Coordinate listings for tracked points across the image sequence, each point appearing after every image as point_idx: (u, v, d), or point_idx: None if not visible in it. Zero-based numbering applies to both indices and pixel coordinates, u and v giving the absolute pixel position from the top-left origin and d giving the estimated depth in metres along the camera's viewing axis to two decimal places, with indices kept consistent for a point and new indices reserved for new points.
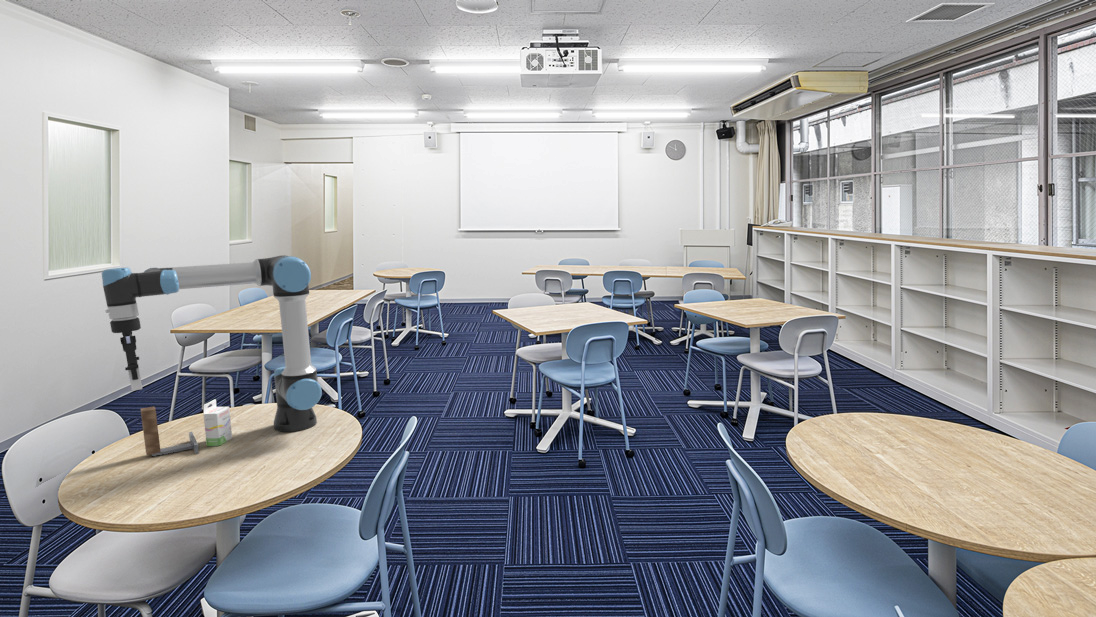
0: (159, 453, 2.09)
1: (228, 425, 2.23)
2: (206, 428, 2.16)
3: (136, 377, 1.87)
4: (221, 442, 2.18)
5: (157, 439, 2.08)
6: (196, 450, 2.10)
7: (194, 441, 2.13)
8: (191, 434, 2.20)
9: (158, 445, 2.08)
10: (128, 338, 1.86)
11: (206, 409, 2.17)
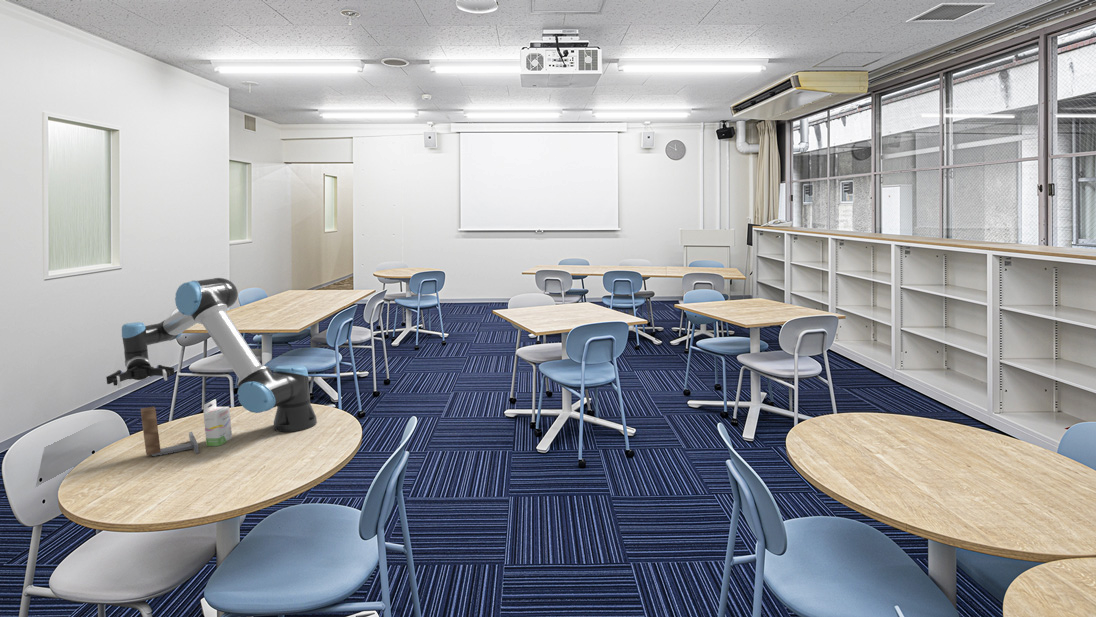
0: (159, 453, 2.09)
1: (228, 425, 2.23)
2: (206, 428, 2.16)
3: (113, 380, 2.14)
4: (221, 442, 2.18)
5: (157, 439, 2.08)
6: (196, 450, 2.10)
7: (194, 441, 2.13)
8: (191, 434, 2.20)
9: (158, 445, 2.08)
10: None
11: (206, 409, 2.17)
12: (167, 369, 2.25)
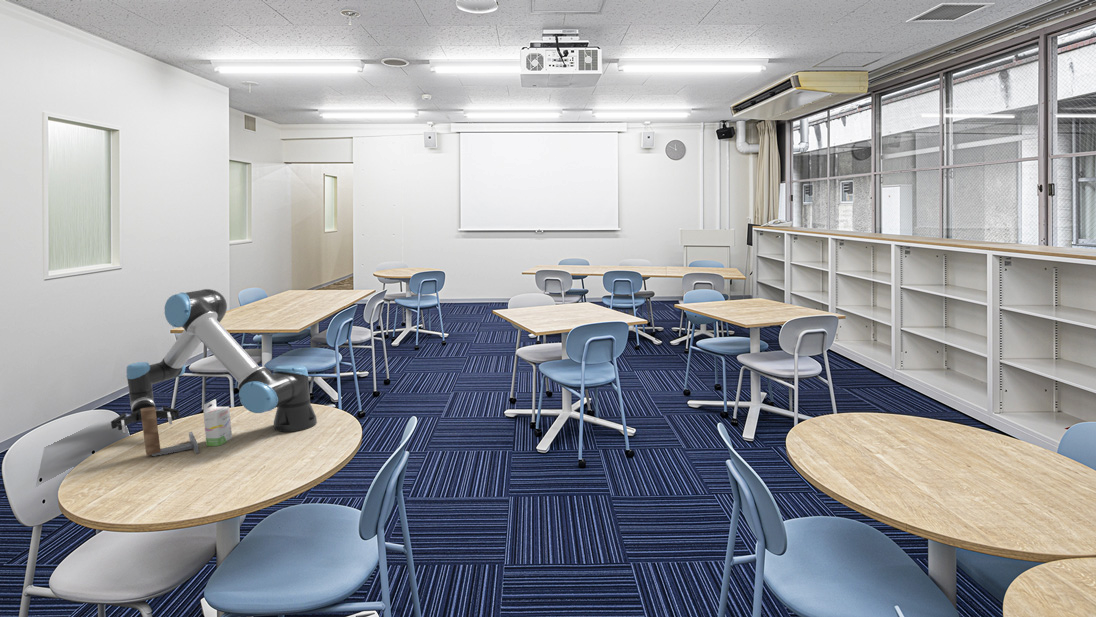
0: (159, 453, 2.09)
1: (228, 425, 2.23)
2: (206, 428, 2.16)
3: (117, 425, 2.12)
4: (221, 442, 2.18)
5: (157, 439, 2.08)
6: (196, 450, 2.10)
7: (194, 441, 2.13)
8: (191, 434, 2.20)
9: (158, 445, 2.08)
10: None
11: (206, 409, 2.17)
12: (172, 412, 2.24)
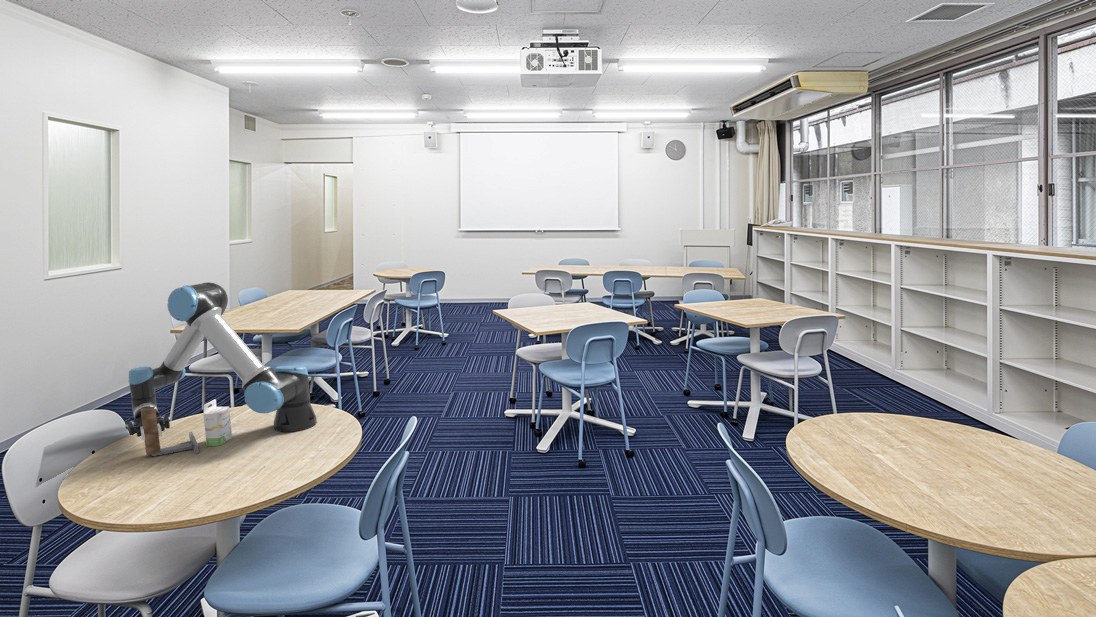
0: (159, 453, 2.09)
1: (228, 425, 2.23)
2: (206, 428, 2.16)
3: (136, 432, 2.05)
4: (221, 442, 2.18)
5: (157, 439, 2.08)
6: (196, 450, 2.10)
7: (194, 441, 2.13)
8: (191, 434, 2.20)
9: (158, 445, 2.08)
10: (125, 425, 2.13)
11: (206, 409, 2.17)
12: (161, 423, 2.11)
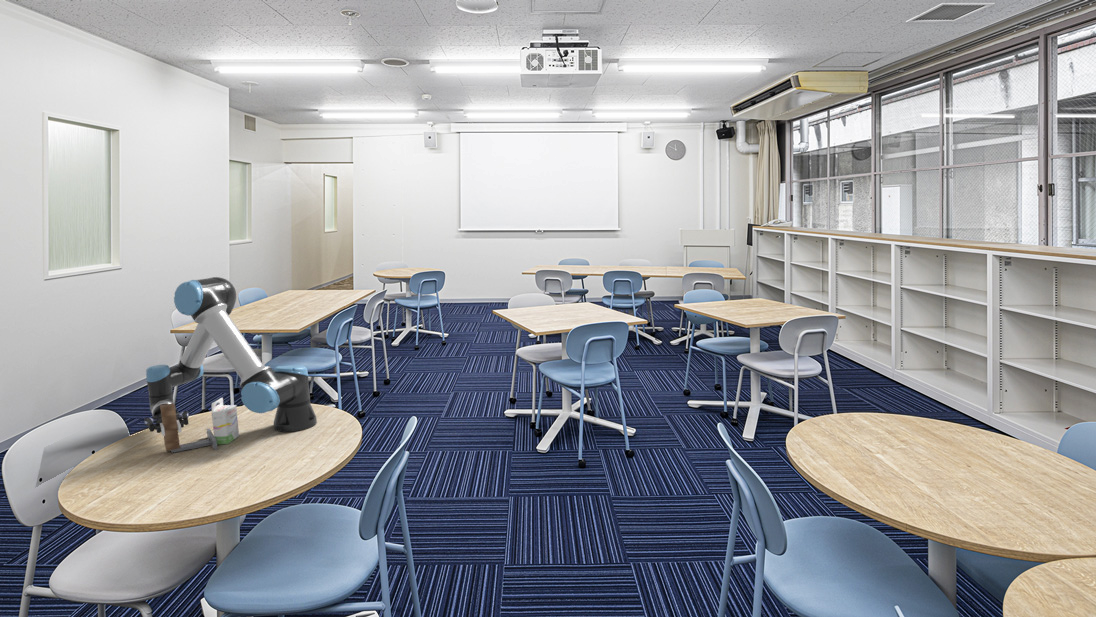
0: (178, 449, 2.12)
1: (235, 423, 2.24)
2: (214, 426, 2.17)
3: (156, 428, 2.08)
4: (229, 441, 2.20)
5: (176, 435, 2.11)
6: (215, 446, 2.13)
7: (212, 437, 2.16)
8: (209, 431, 2.23)
9: (177, 441, 2.12)
10: None
11: (214, 407, 2.18)
12: (180, 419, 2.14)
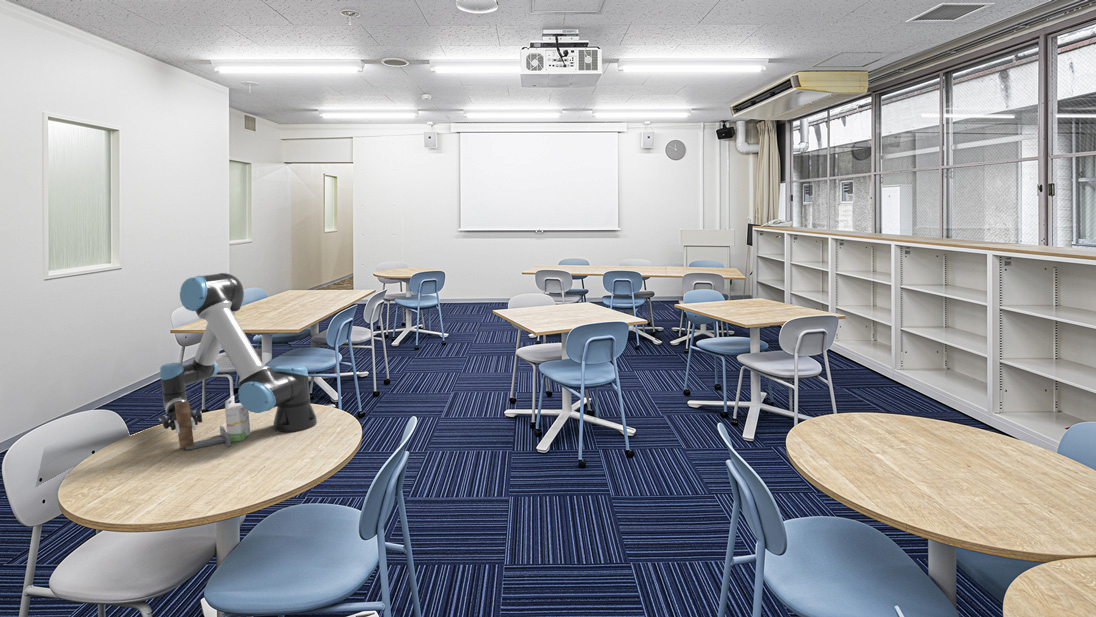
0: (192, 446, 2.14)
1: (247, 421, 2.27)
2: (228, 424, 2.20)
3: (171, 425, 2.10)
4: (243, 438, 2.22)
5: (191, 432, 2.14)
6: (228, 443, 2.15)
7: (226, 435, 2.18)
8: (222, 428, 2.25)
9: (191, 438, 2.14)
10: (159, 419, 2.19)
11: (227, 405, 2.21)
12: (194, 417, 2.17)
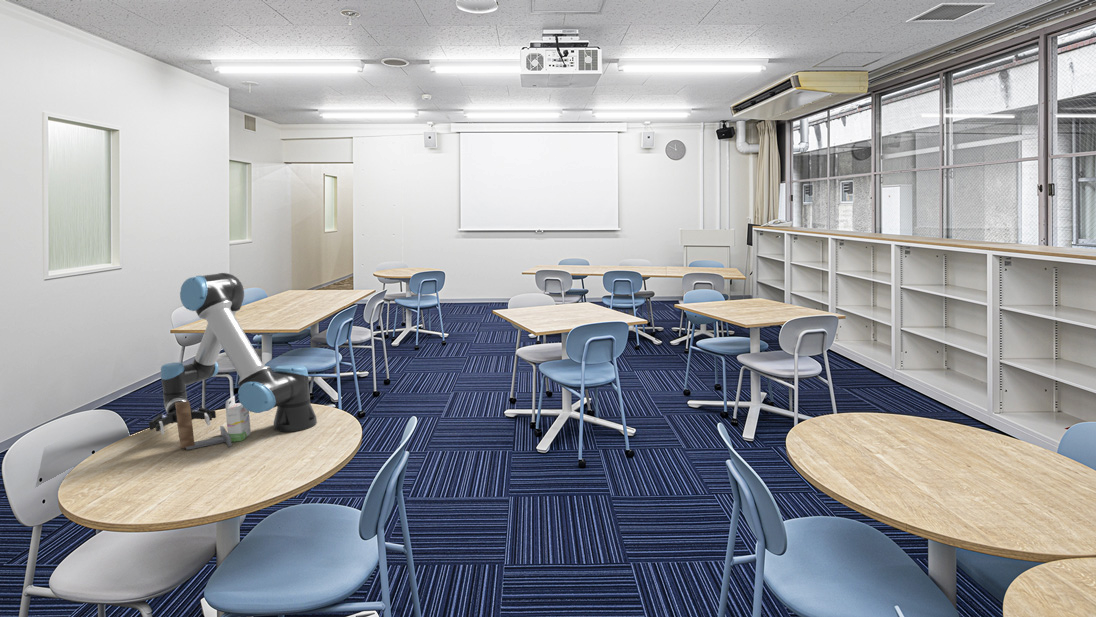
0: (193, 446, 2.15)
1: (248, 421, 2.27)
2: (228, 424, 2.20)
3: (156, 426, 2.10)
4: (243, 438, 2.22)
5: (191, 432, 2.14)
6: (229, 443, 2.16)
7: (226, 434, 2.19)
8: (222, 428, 2.26)
9: (192, 438, 2.14)
10: None
11: (227, 405, 2.21)
12: (209, 412, 2.21)
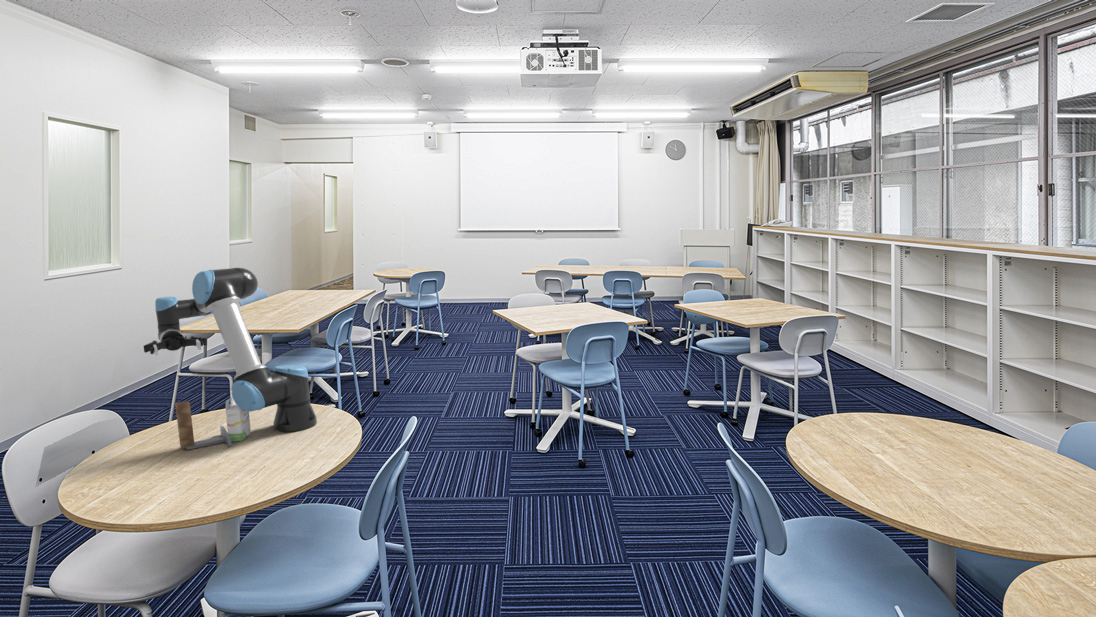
0: (193, 446, 2.15)
1: (248, 421, 2.27)
2: (228, 424, 2.20)
3: (150, 349, 2.24)
4: (243, 438, 2.22)
5: (191, 432, 2.14)
6: (229, 443, 2.16)
7: (226, 434, 2.19)
8: (222, 428, 2.26)
9: (192, 438, 2.14)
10: None
11: (227, 405, 2.21)
12: (200, 339, 2.36)
